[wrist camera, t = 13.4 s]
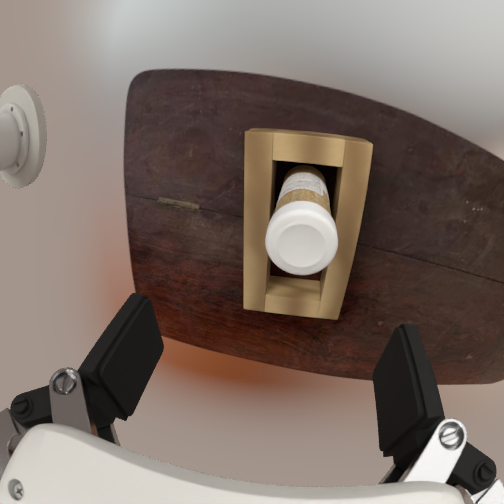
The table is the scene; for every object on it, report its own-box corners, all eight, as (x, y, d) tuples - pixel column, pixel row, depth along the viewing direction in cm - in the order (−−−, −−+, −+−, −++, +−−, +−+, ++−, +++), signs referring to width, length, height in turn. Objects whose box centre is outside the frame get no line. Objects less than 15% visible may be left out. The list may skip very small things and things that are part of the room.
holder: (249, 288, 36) (243, 308, 33) (253, 127, 26) (244, 131, 23) (336, 298, 35) (337, 319, 31) (364, 138, 25) (373, 144, 21)
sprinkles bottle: (320, 209, 29) (326, 284, 18) (278, 199, 30) (258, 269, 18) (330, 169, 27) (348, 221, 15) (286, 158, 27) (271, 203, 16)
